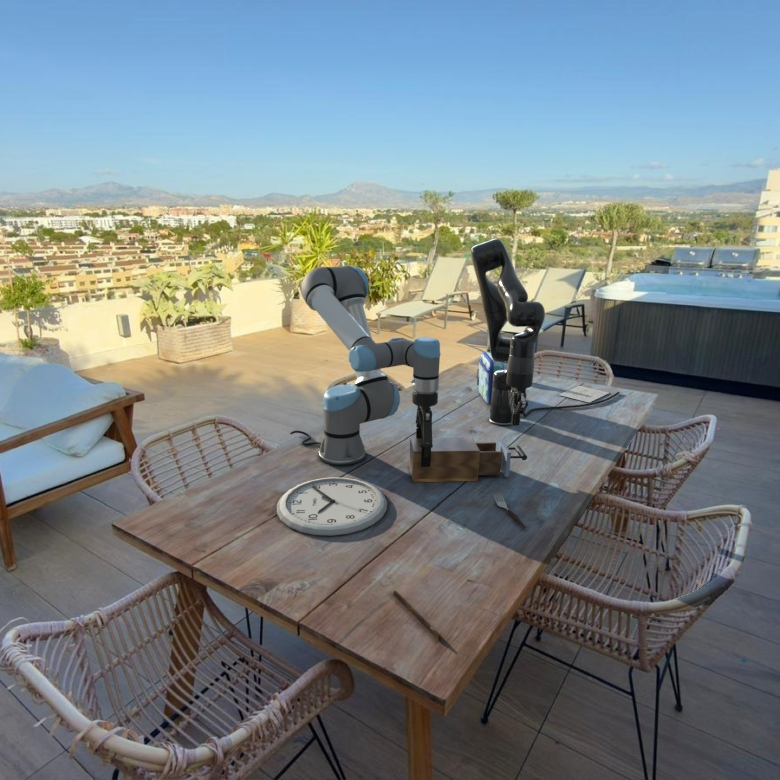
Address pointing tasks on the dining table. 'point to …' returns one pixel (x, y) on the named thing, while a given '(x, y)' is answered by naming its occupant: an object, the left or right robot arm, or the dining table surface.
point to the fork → (504, 505)
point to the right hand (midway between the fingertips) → (515, 424)
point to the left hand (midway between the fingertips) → (422, 456)
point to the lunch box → (488, 375)
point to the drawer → (496, 458)
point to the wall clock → (331, 506)
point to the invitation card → (584, 394)
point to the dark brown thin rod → (416, 614)
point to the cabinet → (445, 460)
